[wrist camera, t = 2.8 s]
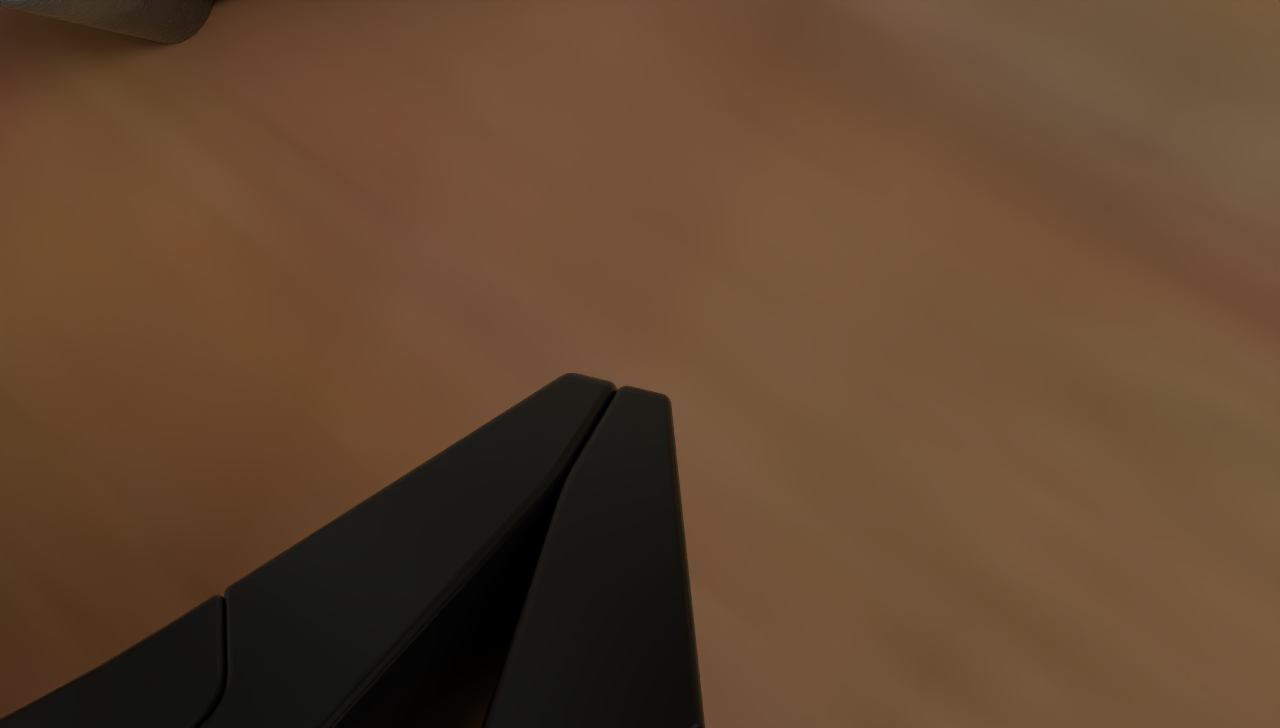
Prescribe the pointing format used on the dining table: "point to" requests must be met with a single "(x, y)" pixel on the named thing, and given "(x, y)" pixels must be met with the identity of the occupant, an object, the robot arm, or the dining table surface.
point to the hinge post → (125, 15)
